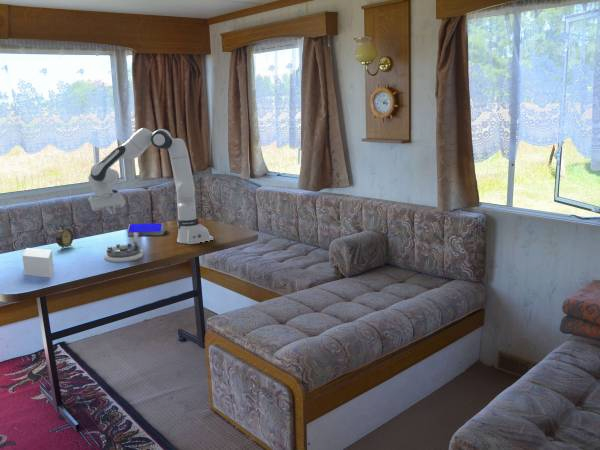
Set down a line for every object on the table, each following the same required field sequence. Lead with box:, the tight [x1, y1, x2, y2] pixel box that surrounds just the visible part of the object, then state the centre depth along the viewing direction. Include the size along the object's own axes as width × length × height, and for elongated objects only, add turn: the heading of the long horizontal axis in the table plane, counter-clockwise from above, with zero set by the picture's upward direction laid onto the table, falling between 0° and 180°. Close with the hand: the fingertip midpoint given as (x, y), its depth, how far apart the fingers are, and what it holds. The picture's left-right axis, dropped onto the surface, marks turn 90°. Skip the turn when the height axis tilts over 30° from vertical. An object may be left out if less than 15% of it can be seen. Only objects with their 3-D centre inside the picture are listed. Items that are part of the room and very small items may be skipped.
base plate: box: [103, 244, 144, 263], centre depth 306 cm, size 21×21×6 cm
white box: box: [21, 247, 55, 278], centre depth 281 cm, size 14×29×10 cm, turn 46°
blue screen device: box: [127, 222, 166, 237], centre depth 361 cm, size 22×14×7 cm, turn 94°
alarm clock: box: [55, 221, 74, 251], centre depth 325 cm, size 11×5×16 cm, turn 168°
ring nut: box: [106, 233, 141, 257], centre depth 305 cm, size 18×18×11 cm
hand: (113, 213), depth 322 cm, fingers closed
